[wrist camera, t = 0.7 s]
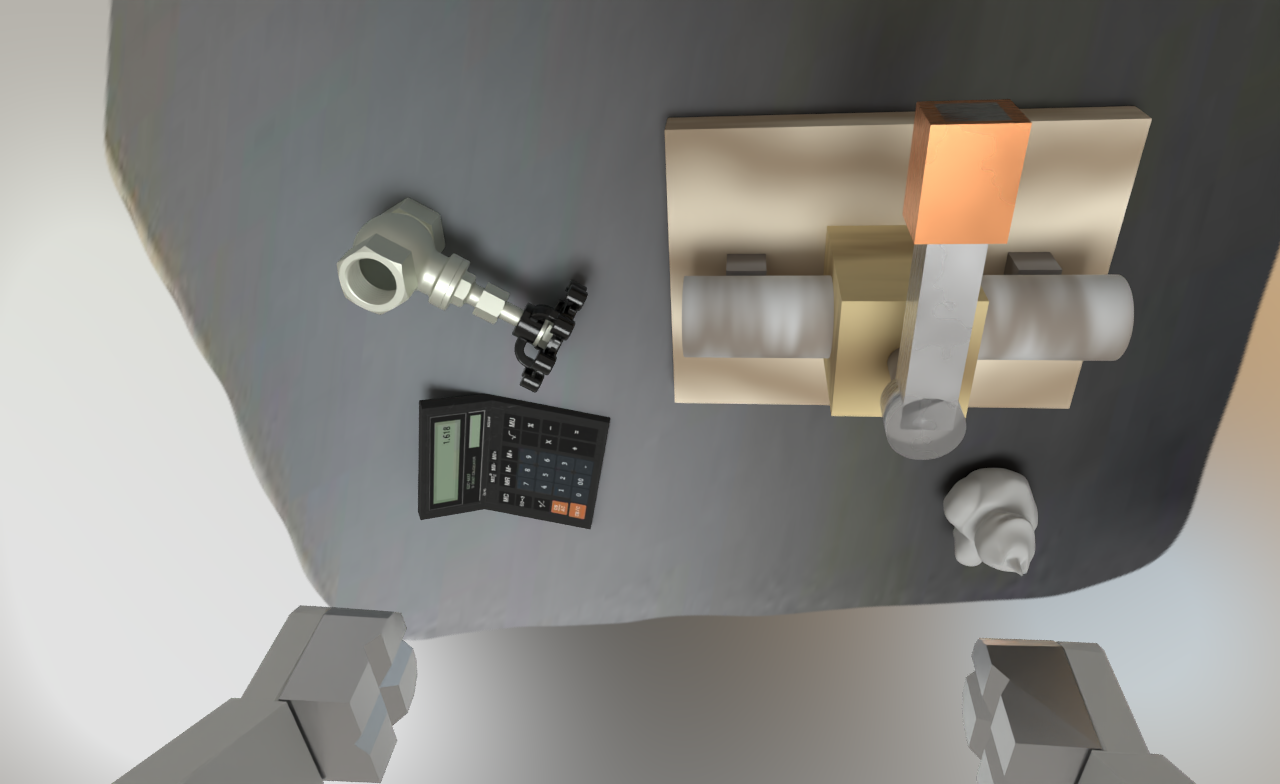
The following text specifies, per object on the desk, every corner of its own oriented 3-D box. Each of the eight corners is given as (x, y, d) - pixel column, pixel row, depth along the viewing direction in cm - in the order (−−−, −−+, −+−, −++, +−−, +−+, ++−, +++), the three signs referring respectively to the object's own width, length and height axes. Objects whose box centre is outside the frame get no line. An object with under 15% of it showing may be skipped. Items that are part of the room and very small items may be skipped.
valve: (362, 257, 48) (548, 351, 51) (314, 312, 43) (524, 415, 45) (399, 160, 45) (597, 266, 47) (351, 207, 39) (578, 325, 42)
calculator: (592, 520, 58) (585, 551, 56) (428, 489, 58) (414, 518, 56) (611, 415, 53) (604, 444, 51) (430, 380, 53) (415, 407, 51)
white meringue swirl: (1048, 468, 52) (1093, 563, 45) (989, 539, 55) (1022, 636, 49) (969, 440, 51) (1002, 532, 44) (914, 513, 55) (937, 608, 48)
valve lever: (948, 426, 35) (961, 465, 33) (875, 425, 36) (883, 463, 34) (1009, 99, 28) (1031, 122, 26) (916, 101, 28) (930, 125, 26)
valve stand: (667, 117, 42) (641, 217, 31) (1135, 105, 39) (1275, 210, 29) (677, 383, 51) (659, 529, 40) (1058, 388, 48) (1144, 545, 38)
